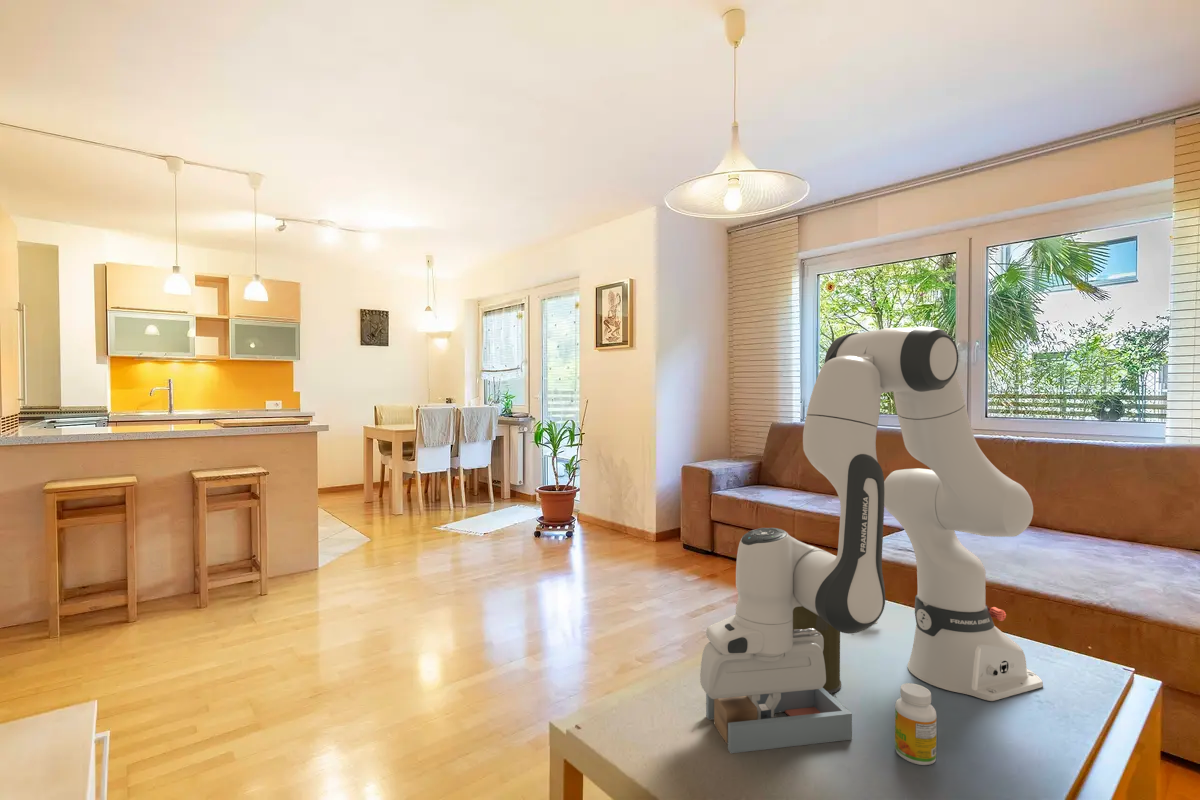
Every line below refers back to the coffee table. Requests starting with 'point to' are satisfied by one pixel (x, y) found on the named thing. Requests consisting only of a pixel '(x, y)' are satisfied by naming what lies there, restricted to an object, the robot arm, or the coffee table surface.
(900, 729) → the supplement bottle
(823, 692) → the channel
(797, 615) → the canister
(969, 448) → the robot arm
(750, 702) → the walnut cube
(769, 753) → the coffee table surface
